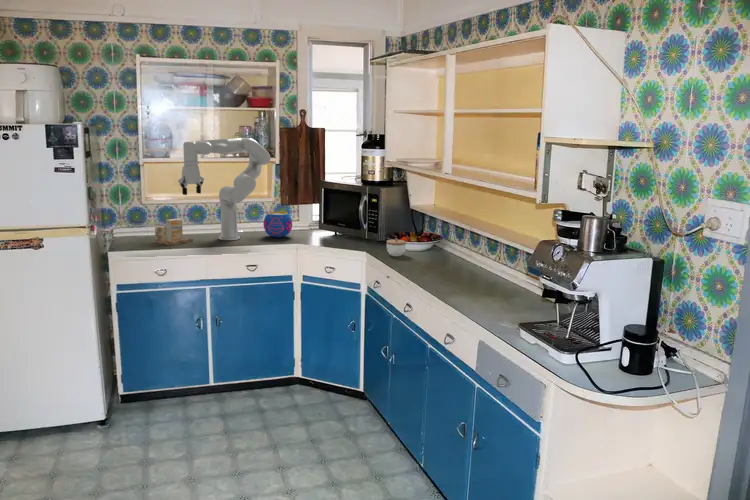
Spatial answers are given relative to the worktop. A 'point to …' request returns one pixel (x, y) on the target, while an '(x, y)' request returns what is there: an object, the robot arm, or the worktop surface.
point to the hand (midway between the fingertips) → (191, 193)
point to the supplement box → (174, 230)
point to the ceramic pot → (277, 224)
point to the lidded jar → (396, 247)
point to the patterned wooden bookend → (161, 237)
